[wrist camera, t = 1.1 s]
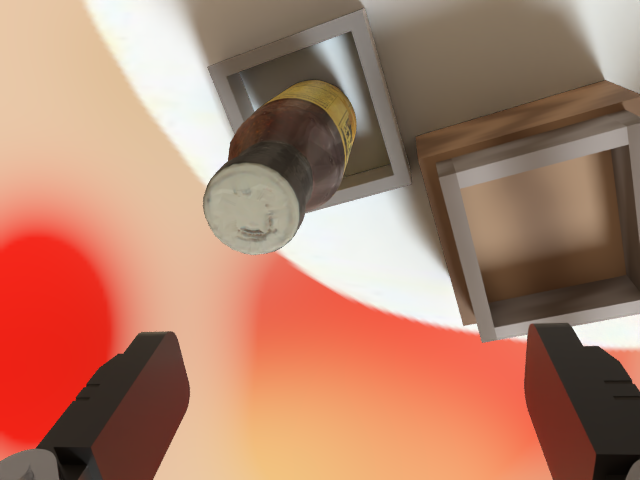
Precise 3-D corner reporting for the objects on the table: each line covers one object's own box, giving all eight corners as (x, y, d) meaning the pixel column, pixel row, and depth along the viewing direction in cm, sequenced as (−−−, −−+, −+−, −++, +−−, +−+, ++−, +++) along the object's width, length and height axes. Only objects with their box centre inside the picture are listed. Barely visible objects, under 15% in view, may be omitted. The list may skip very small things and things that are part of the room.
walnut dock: (605, 80, 34) (667, 105, 26) (625, 247, 39) (684, 312, 31) (415, 136, 38) (419, 174, 30) (455, 284, 42) (468, 351, 34)
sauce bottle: (330, 174, 40) (274, 317, 22) (261, 131, 39) (147, 243, 22) (377, 102, 37) (355, 199, 19) (303, 54, 36) (211, 110, 19)
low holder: (364, 8, 35) (361, 9, 32) (410, 171, 39) (411, 184, 36) (220, 61, 37) (207, 66, 35) (279, 208, 42) (270, 222, 39)
